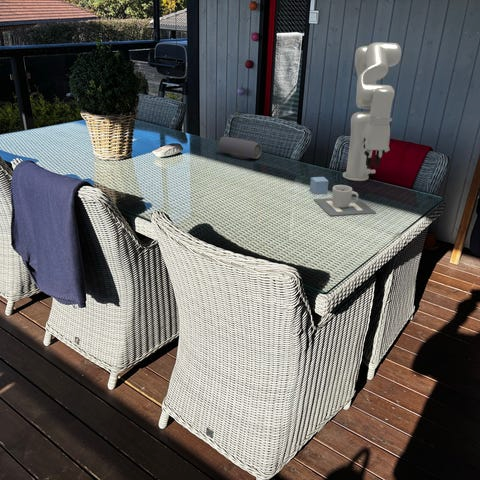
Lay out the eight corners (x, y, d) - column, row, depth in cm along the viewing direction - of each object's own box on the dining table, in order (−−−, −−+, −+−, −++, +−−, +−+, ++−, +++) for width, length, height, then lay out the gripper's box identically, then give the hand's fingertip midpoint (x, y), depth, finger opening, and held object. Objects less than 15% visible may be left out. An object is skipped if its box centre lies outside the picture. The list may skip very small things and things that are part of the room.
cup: (357, 204, 203) (360, 186, 200) (355, 211, 196) (358, 193, 193) (332, 201, 206) (334, 183, 203) (329, 208, 199) (331, 189, 196)
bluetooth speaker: (261, 158, 262) (262, 140, 258) (252, 162, 255) (253, 144, 251) (227, 151, 273) (227, 134, 269) (217, 155, 266) (217, 137, 262)
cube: (322, 189, 221) (323, 176, 218) (327, 193, 215) (328, 181, 213) (309, 189, 219) (311, 177, 217) (314, 194, 214) (315, 181, 212)
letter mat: (356, 197, 212) (356, 196, 211) (376, 213, 196) (376, 212, 196) (313, 200, 207) (313, 199, 207) (330, 216, 192) (330, 215, 191)
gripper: (392, 118, 193) (385, 163, 201) (355, 119, 190) (349, 164, 198) (402, 122, 187) (394, 168, 195) (364, 123, 183) (357, 170, 191)
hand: (372, 166), depth 196 cm, fingers open, 2 cm apart
